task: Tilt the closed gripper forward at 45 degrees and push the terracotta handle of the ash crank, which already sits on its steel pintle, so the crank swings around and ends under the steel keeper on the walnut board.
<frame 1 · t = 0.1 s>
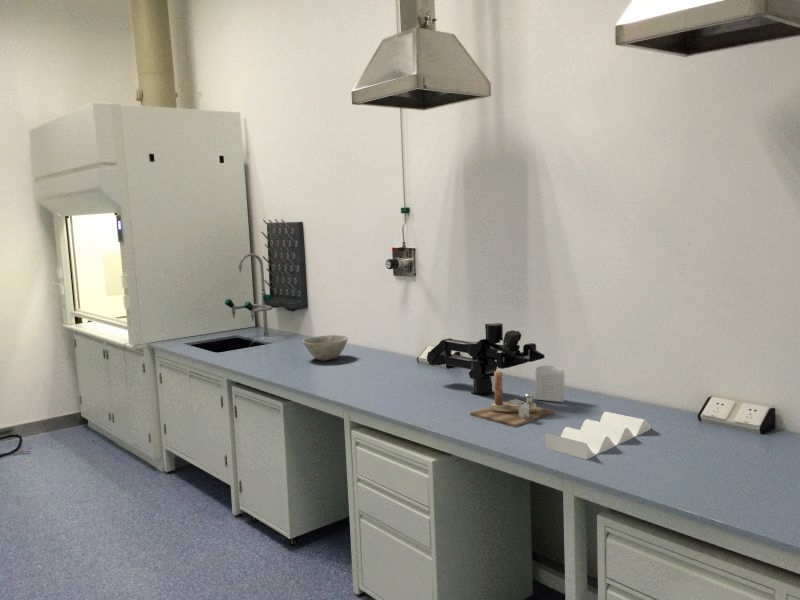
hand: (535, 358, 228), 17 cm above the lab bench, tool horizontal, fingers open, 9 cm apart
white wavy rack: (601, 441, 194), on the lab bench
pintle and keeper: (529, 414, 220), resting on walnut board
ceramic bowl: (326, 359, 324), on the lab bench
white arched upright block: (549, 400, 236), on the lab bench
ash crank: (513, 391, 221), point 8 cm above the lab bench, hinge at -38.0°
walnut board: (512, 414, 221), on the lab bench
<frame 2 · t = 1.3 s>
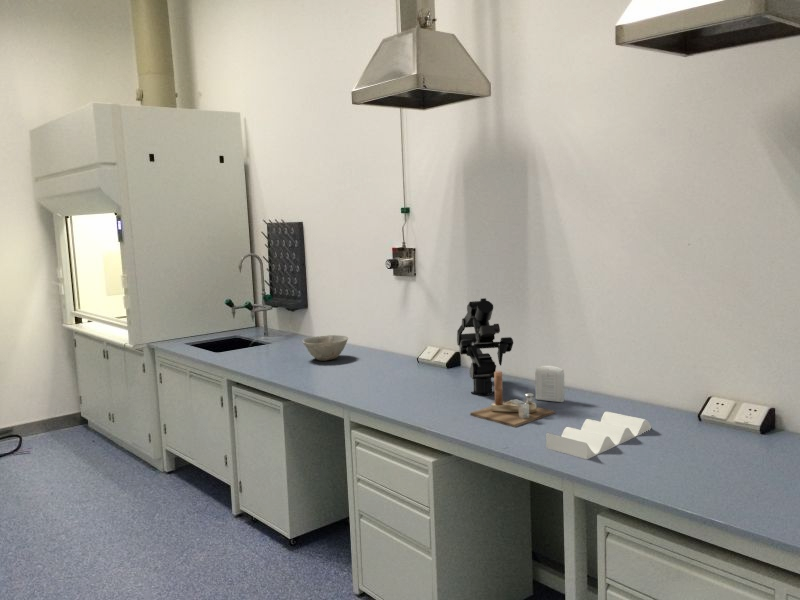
hand: (490, 365, 234), 14 cm above the lab bench, tool tilted 45°, fingers open, 7 cm apart
nothing on the lab bench moved.
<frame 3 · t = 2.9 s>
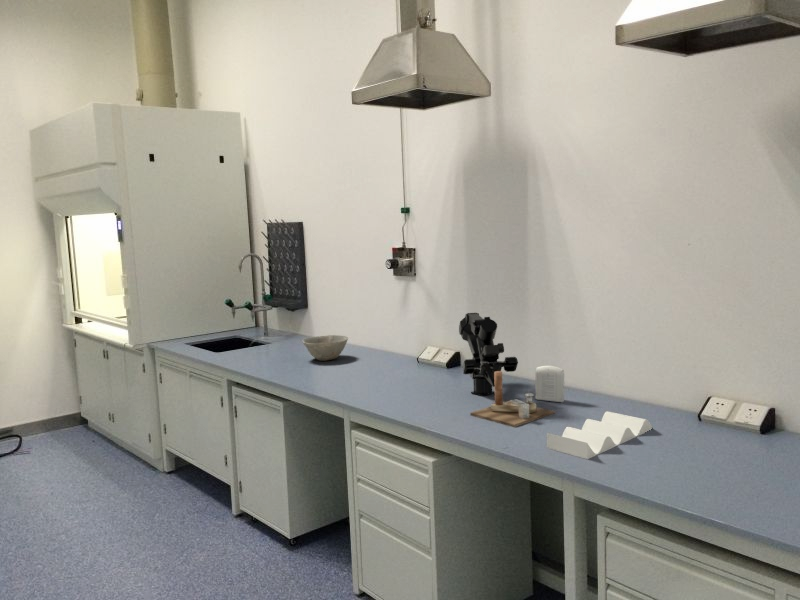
hand: (494, 386, 228), 8 cm above the lab bench, tool tilted 45°, fingers closed
nothing on the lab bench moved.
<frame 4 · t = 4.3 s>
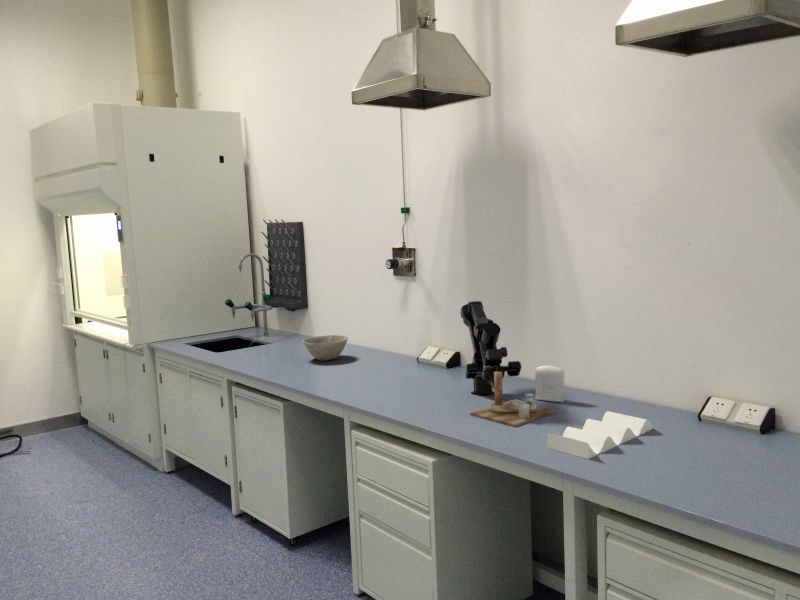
hand: (497, 391, 223), 7 cm above the lab bench, tool tilted 45°, fingers closed, pressing on ash crank
ash crank: (513, 391, 221), point 8 cm above the lab bench, hinge at -36.4°, touching gripper
everything else where it was.
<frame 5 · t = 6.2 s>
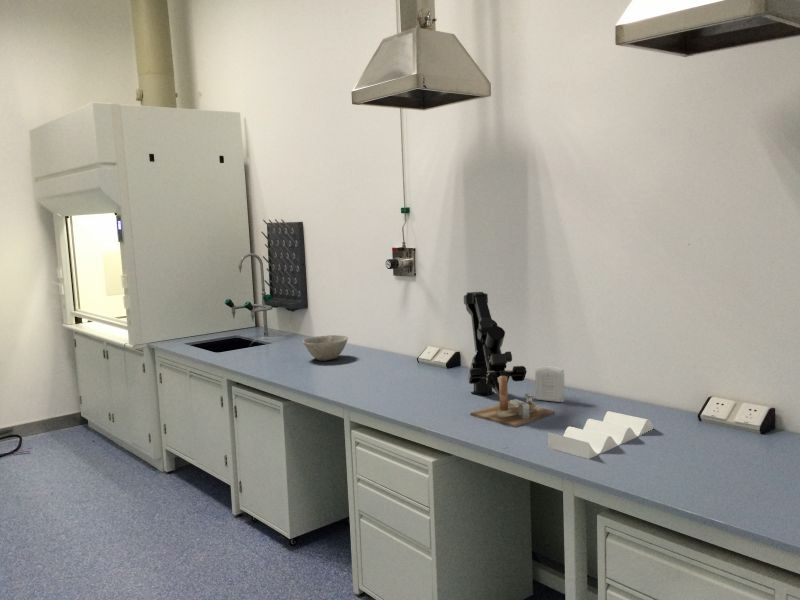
hand: (501, 396, 217), 7 cm above the lab bench, tool tilted 45°, fingers closed
ash crank: (516, 394, 217), point 8 cm above the lab bench, hinge at 1.3°, touching gripper
everything else where it was.
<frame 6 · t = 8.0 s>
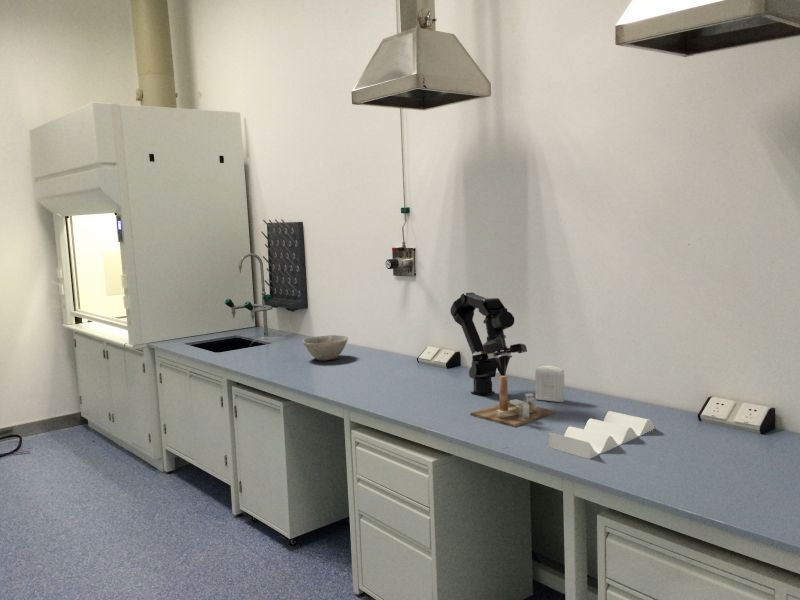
hand: (503, 377, 232), 10 cm above the lab bench, tool tilted 20°, fingers closed
ash crank: (516, 394, 217), point 8 cm above the lab bench, hinge at 1.3°
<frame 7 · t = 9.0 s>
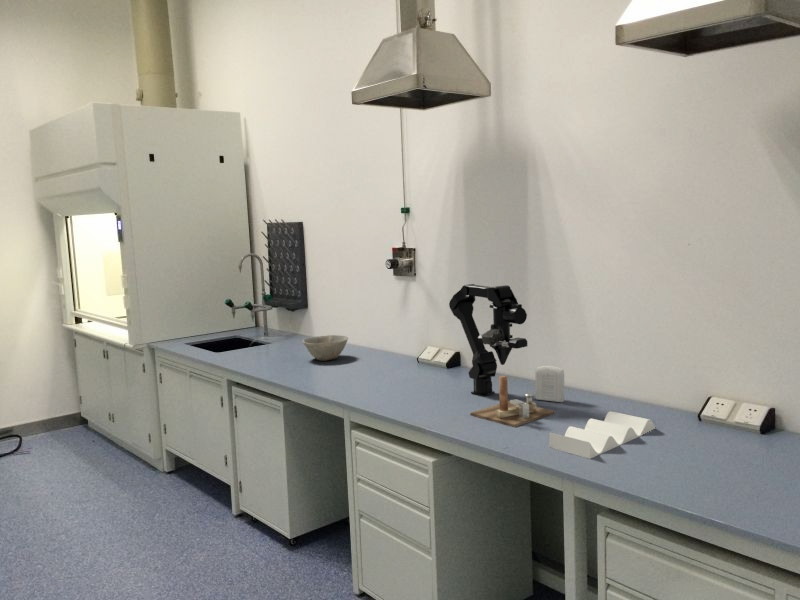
hand: (502, 364, 237), 13 cm above the lab bench, tool pointing down, fingers closed
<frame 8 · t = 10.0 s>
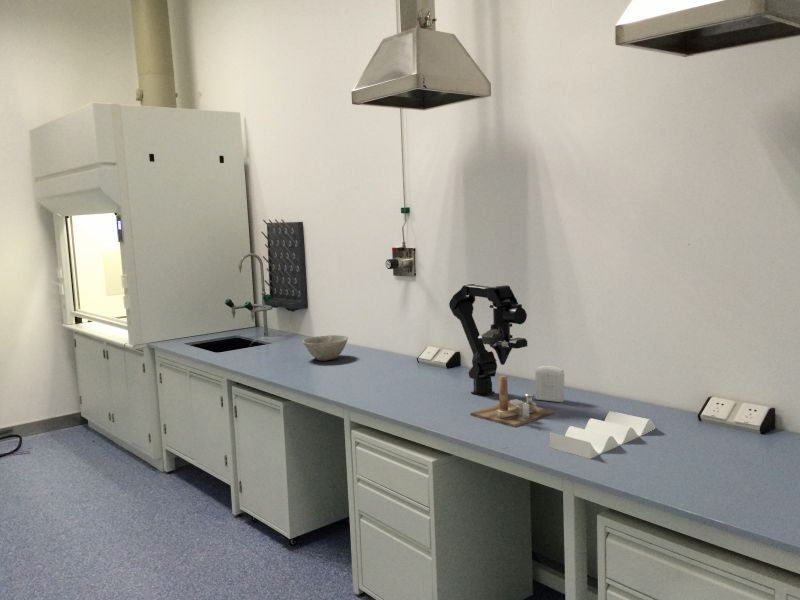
hand: (502, 364, 237), 13 cm above the lab bench, tool pointing down, fingers closed
at the end: ash crank at +1° (first picture: -38°); white arched upright block moved 0.2 cm from its start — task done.
